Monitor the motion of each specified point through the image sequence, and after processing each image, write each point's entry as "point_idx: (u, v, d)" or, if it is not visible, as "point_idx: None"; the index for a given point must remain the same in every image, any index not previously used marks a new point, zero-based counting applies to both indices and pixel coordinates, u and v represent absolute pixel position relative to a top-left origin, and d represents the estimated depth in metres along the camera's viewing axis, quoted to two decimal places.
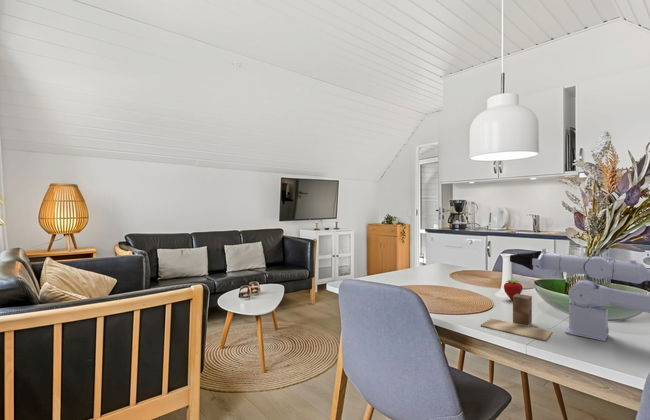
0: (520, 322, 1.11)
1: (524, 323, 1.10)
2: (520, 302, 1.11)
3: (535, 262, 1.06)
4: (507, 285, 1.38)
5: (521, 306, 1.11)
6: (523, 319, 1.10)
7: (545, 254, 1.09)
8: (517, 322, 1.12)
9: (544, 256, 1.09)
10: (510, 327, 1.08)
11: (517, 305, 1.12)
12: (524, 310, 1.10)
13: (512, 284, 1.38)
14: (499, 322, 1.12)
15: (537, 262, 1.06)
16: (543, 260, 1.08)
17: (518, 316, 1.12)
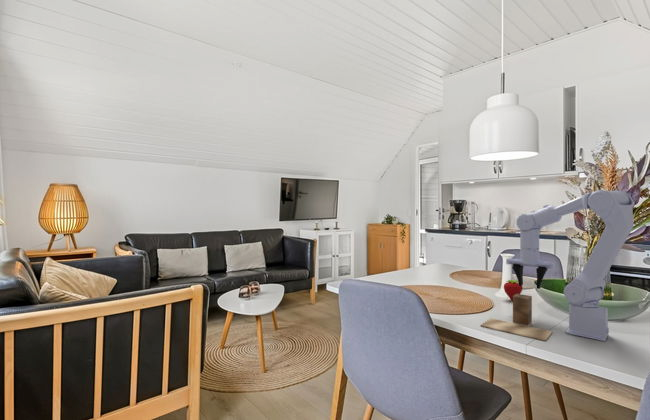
0: (520, 322, 1.11)
1: (524, 323, 1.10)
2: (520, 302, 1.11)
3: None
4: (507, 285, 1.38)
5: (521, 306, 1.11)
6: (523, 319, 1.10)
7: None
8: (517, 322, 1.12)
9: None
10: (510, 327, 1.08)
11: (517, 305, 1.12)
12: (524, 310, 1.10)
13: (512, 284, 1.38)
14: (499, 322, 1.12)
15: None
16: None
17: (518, 316, 1.12)
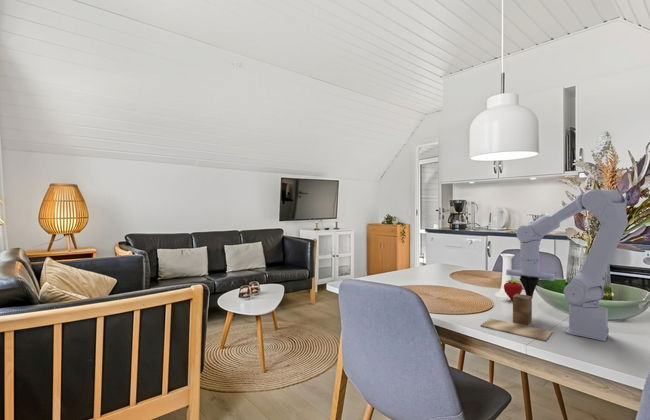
0: (520, 322, 1.11)
1: (524, 323, 1.10)
2: (520, 302, 1.11)
3: None
4: (507, 285, 1.38)
5: (521, 306, 1.11)
6: (523, 319, 1.10)
7: None
8: (517, 322, 1.12)
9: None
10: (510, 327, 1.08)
11: (517, 305, 1.12)
12: (524, 310, 1.10)
13: (512, 284, 1.38)
14: (499, 322, 1.12)
15: None
16: None
17: (518, 316, 1.12)
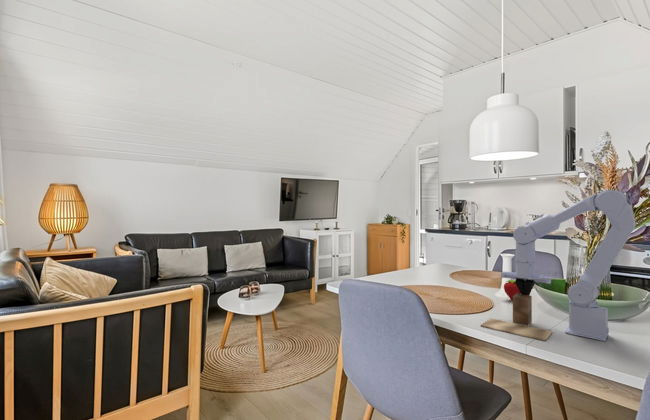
0: (520, 322, 1.11)
1: (524, 323, 1.10)
2: (520, 302, 1.11)
3: None
4: (507, 285, 1.38)
5: (521, 306, 1.11)
6: (523, 319, 1.10)
7: None
8: (517, 322, 1.12)
9: None
10: (510, 327, 1.08)
11: (517, 305, 1.12)
12: (524, 310, 1.10)
13: (512, 284, 1.38)
14: (499, 322, 1.12)
15: None
16: None
17: (518, 316, 1.11)
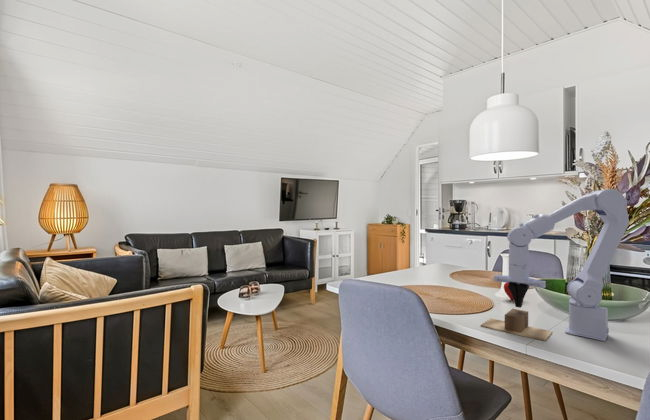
0: None
1: None
2: None
3: None
4: (507, 285, 1.38)
5: None
6: None
7: None
8: None
9: None
10: None
11: None
12: None
13: None
14: (499, 322, 1.12)
15: None
16: None
17: None
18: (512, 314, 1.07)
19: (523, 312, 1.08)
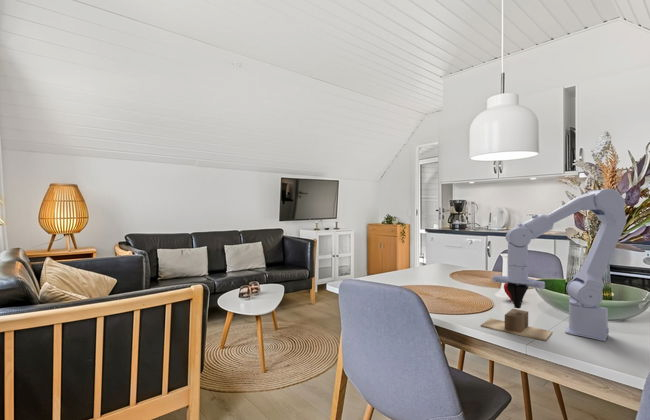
0: None
1: None
2: None
3: None
4: (507, 285, 1.38)
5: None
6: None
7: None
8: None
9: None
10: None
11: None
12: None
13: None
14: (499, 322, 1.12)
15: None
16: None
17: None
18: (512, 314, 1.07)
19: (523, 312, 1.08)
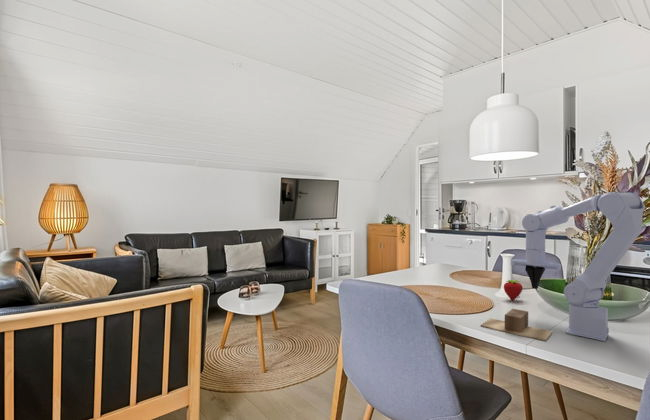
0: None
1: None
2: None
3: None
4: (507, 285, 1.38)
5: None
6: None
7: None
8: None
9: None
10: None
11: None
12: None
13: (512, 284, 1.38)
14: (499, 322, 1.12)
15: None
16: None
17: None
18: (512, 314, 1.07)
19: (523, 312, 1.08)
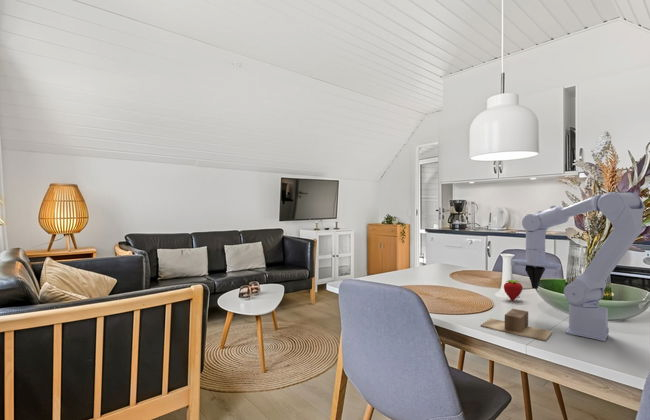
0: None
1: None
2: None
3: None
4: (507, 285, 1.38)
5: None
6: None
7: None
8: None
9: None
10: None
11: None
12: None
13: (512, 284, 1.38)
14: (499, 322, 1.12)
15: None
16: None
17: None
18: (512, 314, 1.07)
19: (523, 312, 1.08)
